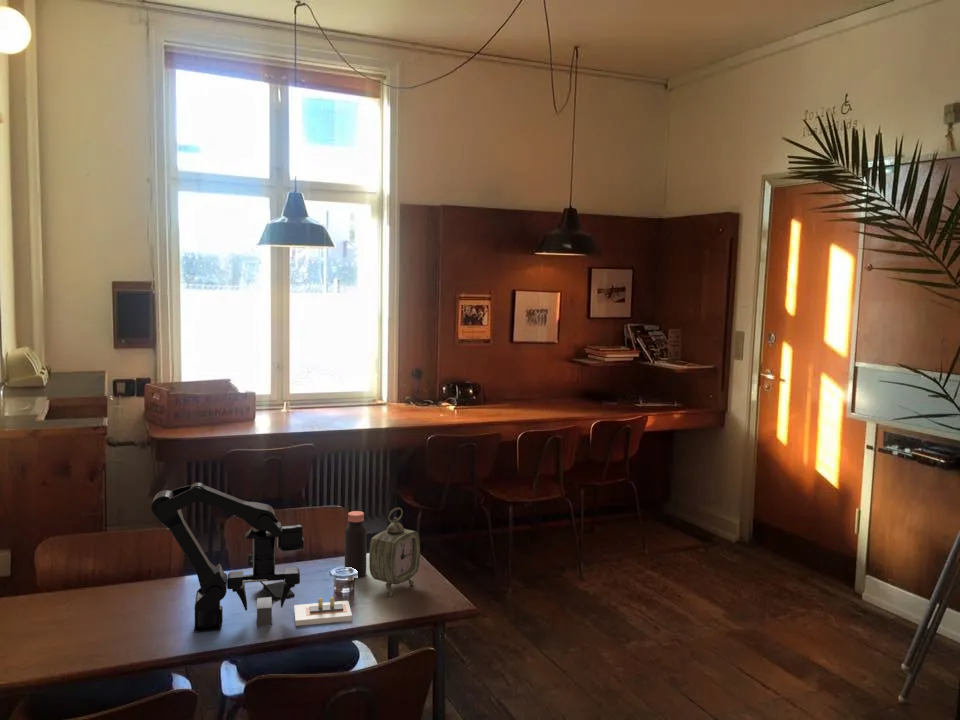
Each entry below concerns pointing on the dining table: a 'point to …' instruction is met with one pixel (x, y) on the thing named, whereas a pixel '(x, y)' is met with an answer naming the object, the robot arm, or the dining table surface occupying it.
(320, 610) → the header board
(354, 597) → the dining table surface
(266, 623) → the connector housing
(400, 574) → the tabletop clock
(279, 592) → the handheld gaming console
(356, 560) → the bottle
